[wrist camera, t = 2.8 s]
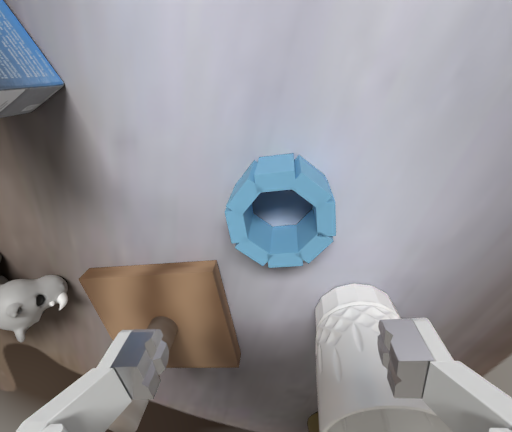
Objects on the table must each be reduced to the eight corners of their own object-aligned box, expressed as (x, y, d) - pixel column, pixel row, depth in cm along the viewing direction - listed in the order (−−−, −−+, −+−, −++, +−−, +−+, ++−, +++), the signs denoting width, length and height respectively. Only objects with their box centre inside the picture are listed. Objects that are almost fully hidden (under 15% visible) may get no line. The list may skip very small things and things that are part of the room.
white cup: (304, 280, 24) (315, 406, 15) (404, 273, 22) (480, 407, 14) (311, 342, 27) (323, 474, 18) (397, 340, 26) (455, 480, 17)
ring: (326, 149, 18) (334, 166, 15) (329, 234, 21) (336, 263, 18) (228, 160, 19) (217, 179, 16) (244, 241, 22) (237, 269, 19)
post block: (216, 260, 23) (177, 366, 15) (240, 353, 29) (222, 470, 21) (89, 268, 25) (-8, 366, 17) (134, 354, 31) (78, 461, 22)
